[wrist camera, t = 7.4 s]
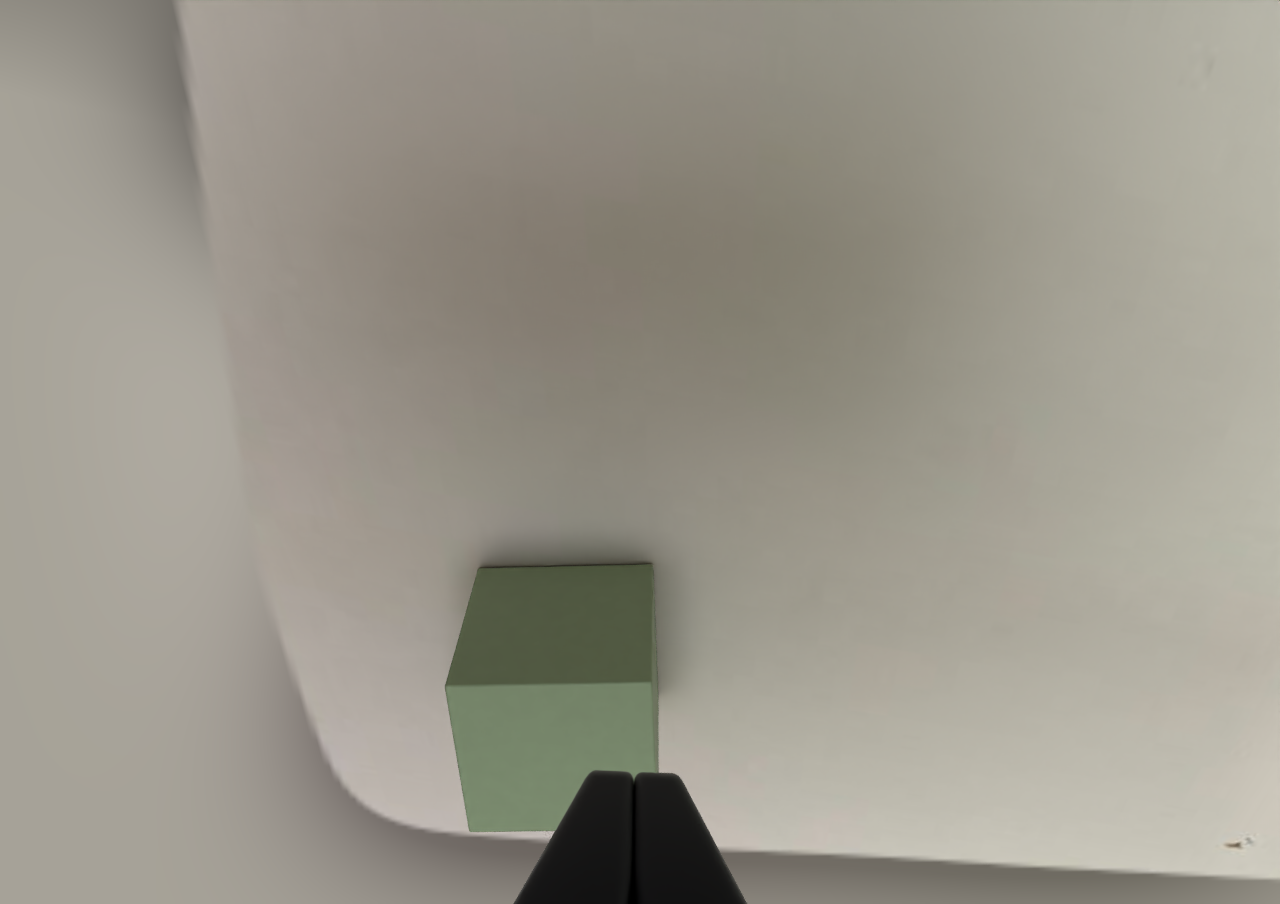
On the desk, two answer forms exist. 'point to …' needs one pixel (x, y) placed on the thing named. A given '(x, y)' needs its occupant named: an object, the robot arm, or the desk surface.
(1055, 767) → the desk surface
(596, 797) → the robot arm
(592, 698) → the block
